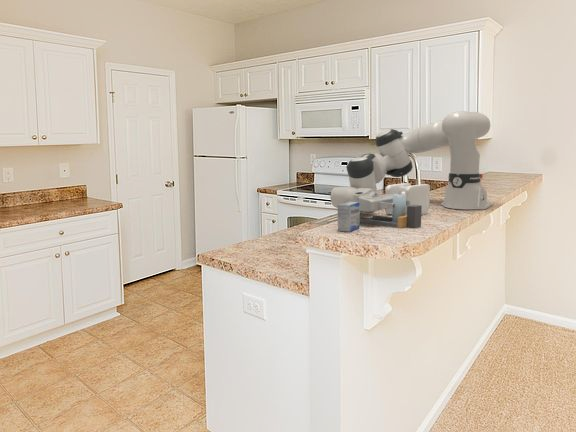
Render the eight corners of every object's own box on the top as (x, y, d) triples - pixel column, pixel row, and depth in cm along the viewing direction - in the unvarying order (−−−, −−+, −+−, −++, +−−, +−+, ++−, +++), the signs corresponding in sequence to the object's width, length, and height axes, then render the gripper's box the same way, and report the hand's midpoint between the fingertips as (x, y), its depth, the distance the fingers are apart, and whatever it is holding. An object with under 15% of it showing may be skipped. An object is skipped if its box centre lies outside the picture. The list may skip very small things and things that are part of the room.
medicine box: (349, 232, 146) (350, 205, 144) (337, 231, 148) (337, 204, 147) (359, 228, 152) (360, 202, 151) (347, 226, 155) (347, 201, 153)
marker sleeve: (396, 222, 161) (397, 194, 159) (407, 224, 157) (408, 195, 156) (389, 224, 158) (390, 195, 156) (400, 226, 154) (401, 196, 153)
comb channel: (375, 218, 170) (375, 199, 169) (425, 225, 156) (426, 204, 155) (358, 221, 163) (358, 202, 162) (409, 229, 149) (410, 207, 148)
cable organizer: (406, 218, 169) (407, 186, 167) (383, 215, 177) (384, 184, 175) (429, 213, 179) (430, 183, 177) (406, 210, 187) (407, 182, 185)
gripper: (384, 206, 173) (417, 210, 163) (350, 212, 159) (384, 217, 149) (384, 189, 172) (418, 192, 162) (350, 194, 158) (384, 198, 148)
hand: (401, 204), depth 156 cm, fingers open, 8 cm apart
